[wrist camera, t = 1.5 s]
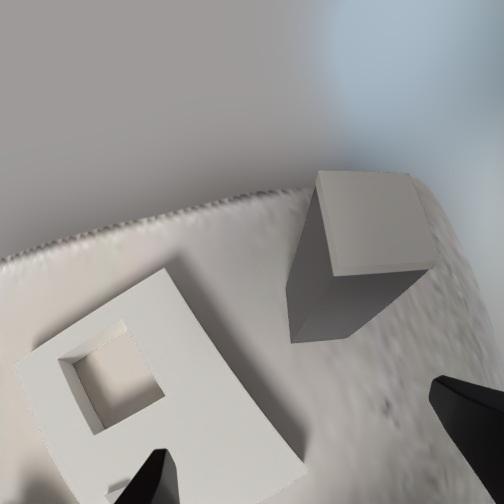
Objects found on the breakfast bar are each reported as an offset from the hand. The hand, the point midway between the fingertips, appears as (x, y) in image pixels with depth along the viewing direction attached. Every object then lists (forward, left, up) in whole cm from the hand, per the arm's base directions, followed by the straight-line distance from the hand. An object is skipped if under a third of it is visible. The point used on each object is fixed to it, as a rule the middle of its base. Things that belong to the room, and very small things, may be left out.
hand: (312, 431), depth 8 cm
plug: (+5, -7, -14) cm, 16 cm away
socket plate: (+5, +9, -14) cm, 17 cm away
